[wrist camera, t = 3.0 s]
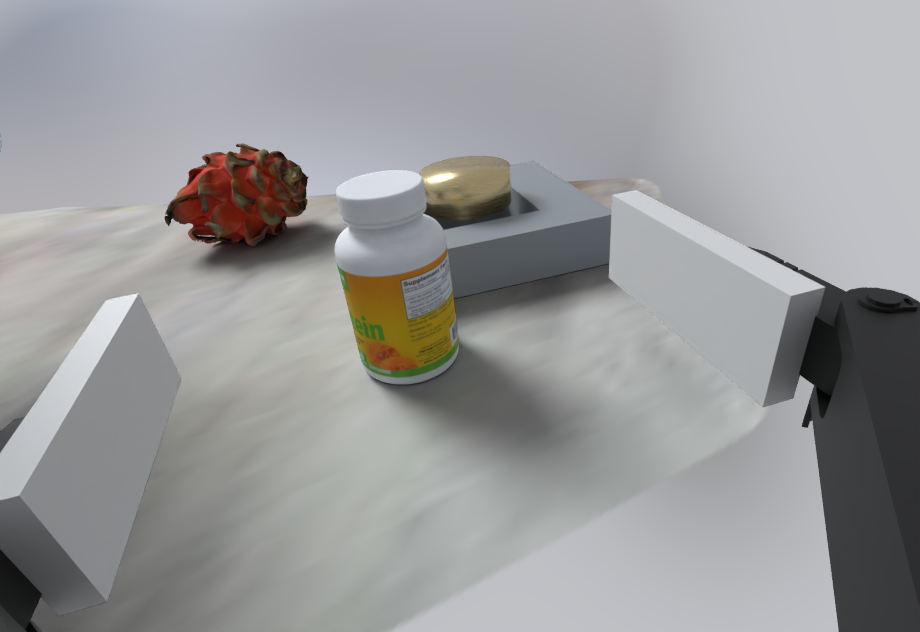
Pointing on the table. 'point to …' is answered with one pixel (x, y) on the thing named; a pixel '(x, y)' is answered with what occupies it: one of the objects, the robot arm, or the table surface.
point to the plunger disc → (467, 187)
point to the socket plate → (528, 235)
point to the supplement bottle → (396, 278)
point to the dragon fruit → (240, 196)
